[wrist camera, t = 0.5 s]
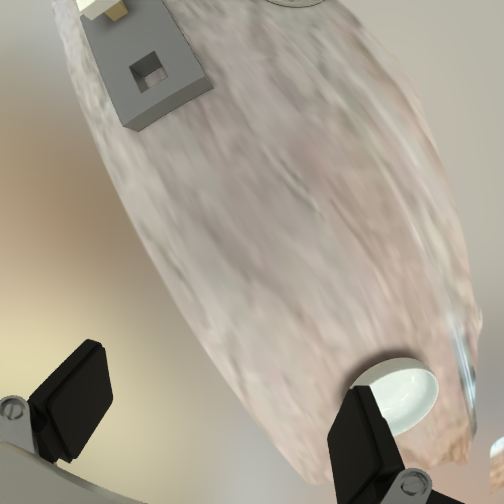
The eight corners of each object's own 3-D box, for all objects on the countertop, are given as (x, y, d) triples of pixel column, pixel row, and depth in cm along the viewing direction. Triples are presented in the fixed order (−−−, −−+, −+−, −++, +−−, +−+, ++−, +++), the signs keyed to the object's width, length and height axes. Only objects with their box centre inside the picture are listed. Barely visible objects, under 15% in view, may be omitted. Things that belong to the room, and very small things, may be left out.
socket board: (94, 27, 32) (79, 17, 27) (154, -11, 30) (144, -26, 25) (138, 131, 36) (122, 126, 31) (213, 88, 34) (205, 75, 29)
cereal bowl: (318, 387, 44) (324, 415, 37) (398, 325, 41) (416, 348, 34) (366, 427, 46) (375, 452, 40) (435, 377, 43) (450, 399, 36)
